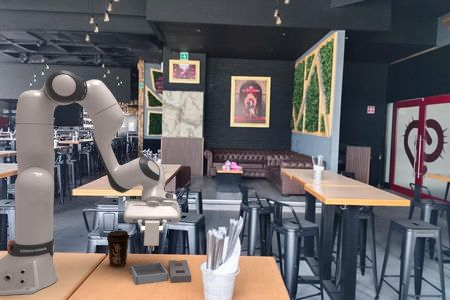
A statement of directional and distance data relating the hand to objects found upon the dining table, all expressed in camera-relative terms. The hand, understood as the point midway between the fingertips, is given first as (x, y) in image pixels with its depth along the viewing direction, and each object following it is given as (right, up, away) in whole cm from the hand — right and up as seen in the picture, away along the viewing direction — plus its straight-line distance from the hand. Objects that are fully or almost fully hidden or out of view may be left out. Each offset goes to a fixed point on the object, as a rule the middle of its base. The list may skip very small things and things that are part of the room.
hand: (151, 232), depth 124 cm
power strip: (+9, -17, +6) cm, 20 cm away
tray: (-1, -17, +1) cm, 17 cm away
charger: (0, -7, +1) cm, 7 cm away
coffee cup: (-16, -16, +12) cm, 25 cm away
